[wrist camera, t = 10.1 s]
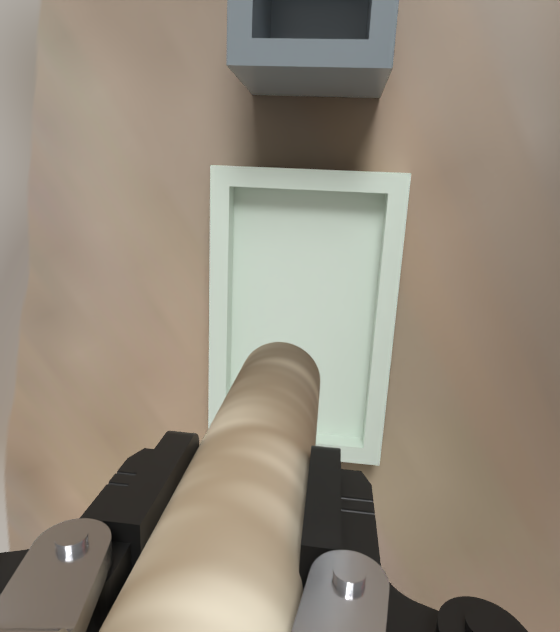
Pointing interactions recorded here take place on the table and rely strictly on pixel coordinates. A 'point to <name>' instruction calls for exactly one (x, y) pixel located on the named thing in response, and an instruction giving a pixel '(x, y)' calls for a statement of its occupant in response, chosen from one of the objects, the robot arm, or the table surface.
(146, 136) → the table surface
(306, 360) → the dowel
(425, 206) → the table surface
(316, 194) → the sage tray
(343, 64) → the slate box
